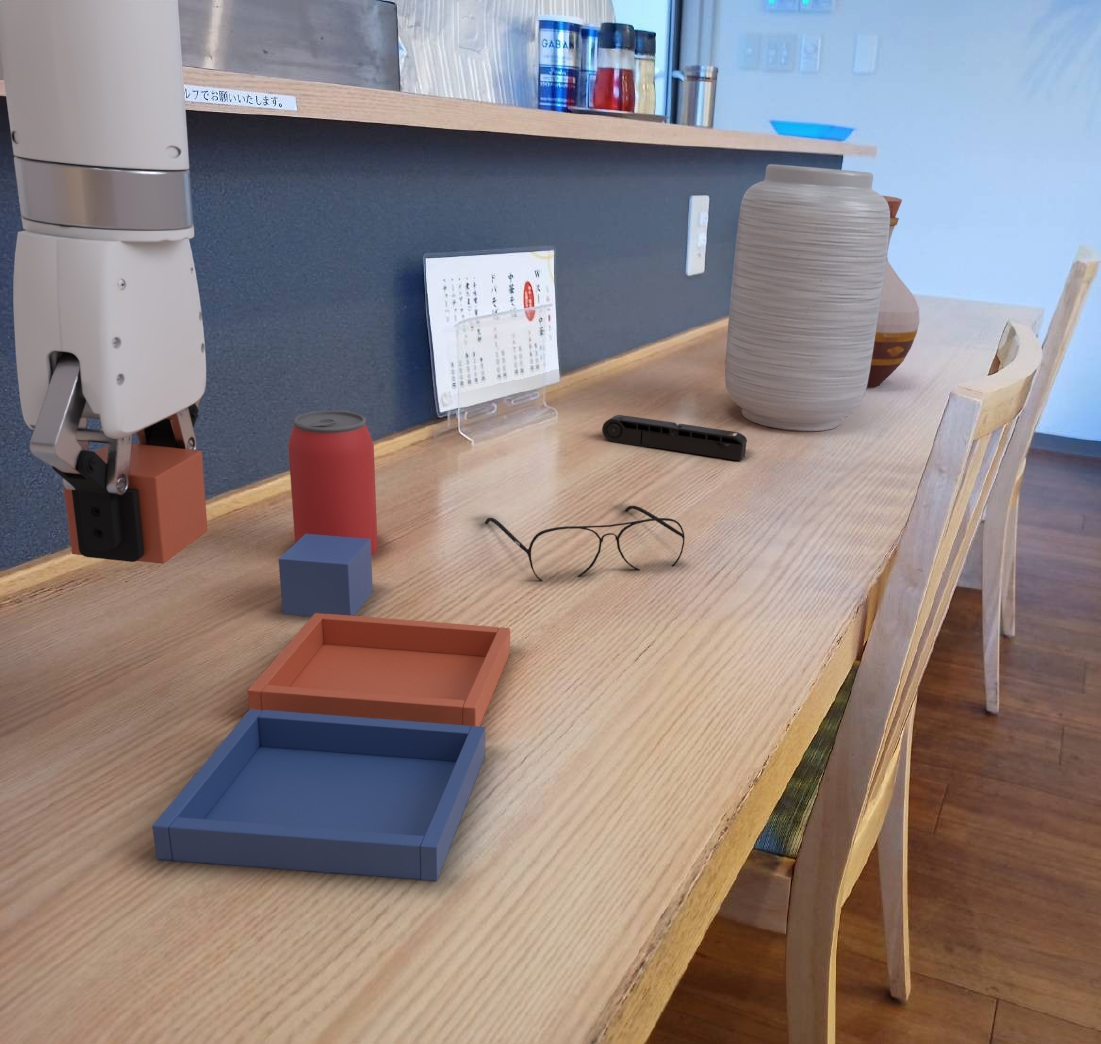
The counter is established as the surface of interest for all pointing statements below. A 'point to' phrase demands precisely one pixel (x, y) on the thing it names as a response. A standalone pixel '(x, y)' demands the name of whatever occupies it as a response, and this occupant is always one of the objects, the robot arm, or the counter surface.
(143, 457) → the terracotta block
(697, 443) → the tablet stand
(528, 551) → the glasses
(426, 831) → the blue tray
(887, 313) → the jug
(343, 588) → the blue block
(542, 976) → the counter surface
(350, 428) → the beer can
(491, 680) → the terracotta tray
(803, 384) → the vase
